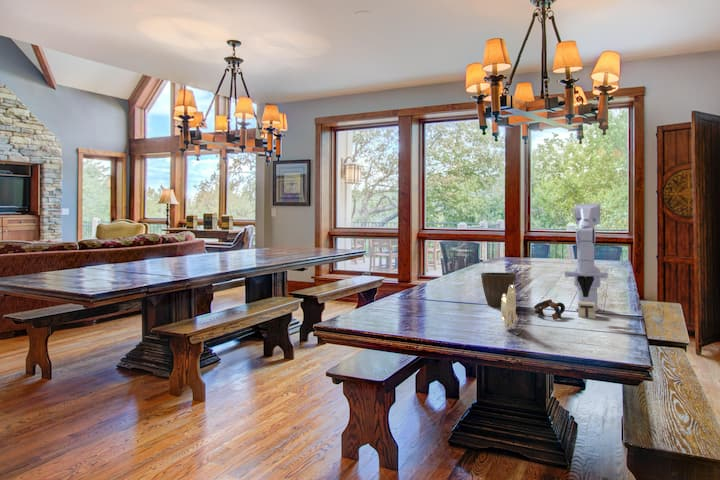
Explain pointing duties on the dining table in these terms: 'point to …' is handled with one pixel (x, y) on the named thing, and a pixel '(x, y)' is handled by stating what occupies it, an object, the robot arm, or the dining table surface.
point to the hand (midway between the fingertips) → (585, 296)
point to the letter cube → (586, 309)
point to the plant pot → (496, 286)
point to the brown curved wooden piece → (552, 305)
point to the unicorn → (509, 306)
